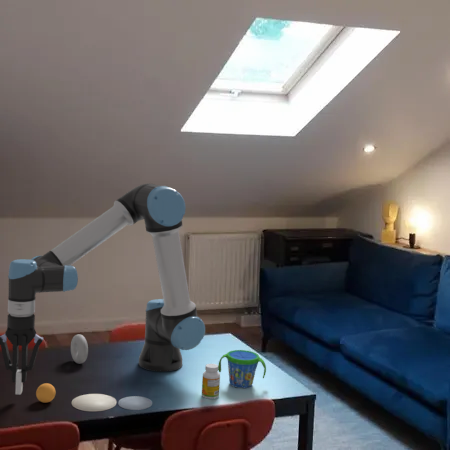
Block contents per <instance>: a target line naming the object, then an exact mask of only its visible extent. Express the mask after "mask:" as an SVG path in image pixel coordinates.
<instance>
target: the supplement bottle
mask: <svg viewBox="0 0 450 450" xmlns="http://www.w3.org/2000/svg"><path fill="white" fill-rule="evenodd" d="M218 365H219V364H216V363H207V364H205V367H204V369H205V371H203V372H202V383H201V396H202V397H203V398H205V399H209V400H211V399H213V400H214V399H218V398H219V396H220V383H221V372H219V370H218Z"/></svg>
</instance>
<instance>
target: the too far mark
mask: <svg viewBox="0 0 450 450" xmlns="http://www.w3.org/2000/svg"><path fill="white" fill-rule="evenodd" d="M117 405H118V406H119V407H120V408H122V409H125V410H128V411H129V410H131V411H140V410H146V409H149V408H150V407H151V406H152V405H153V401H152V400H151V399H149V398H147V397H144V396H139V395H137V396H136V395H135V396H134V395H133V396H126V397H123V398H121V399H119V400H118V401H117Z"/></svg>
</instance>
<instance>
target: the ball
mask: <svg viewBox="0 0 450 450" xmlns="http://www.w3.org/2000/svg"><path fill="white" fill-rule="evenodd" d="M56 393H57V392H56V388H55V386H54V385H52V384H51V383H47V382H46V383H42V384H40V385H39V386H38V387H37V389H36V392H35V395H36V398H37V400H38V401H39V402H41V403H50V402H52V401H53V399H55V398H56V397H55V396H56Z"/></svg>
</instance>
